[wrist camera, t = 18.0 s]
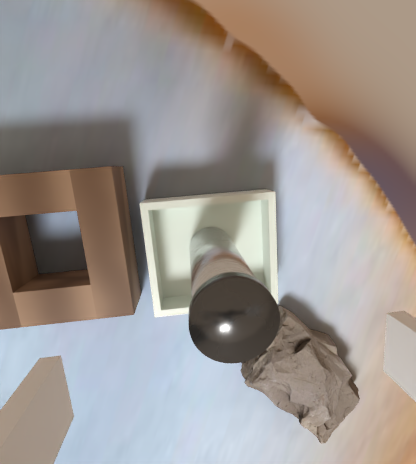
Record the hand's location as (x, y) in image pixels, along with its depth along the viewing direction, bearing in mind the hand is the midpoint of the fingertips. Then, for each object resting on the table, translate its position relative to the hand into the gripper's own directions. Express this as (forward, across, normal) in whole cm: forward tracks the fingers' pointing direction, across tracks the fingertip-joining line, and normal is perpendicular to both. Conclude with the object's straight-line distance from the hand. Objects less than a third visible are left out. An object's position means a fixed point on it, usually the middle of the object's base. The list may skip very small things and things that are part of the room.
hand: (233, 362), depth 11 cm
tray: (+16, +1, 0) cm, 16 cm away
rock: (+16, +9, -14) cm, 23 cm away
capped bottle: (+15, +1, +1) cm, 15 cm away
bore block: (+16, -12, +2) cm, 20 cm away
